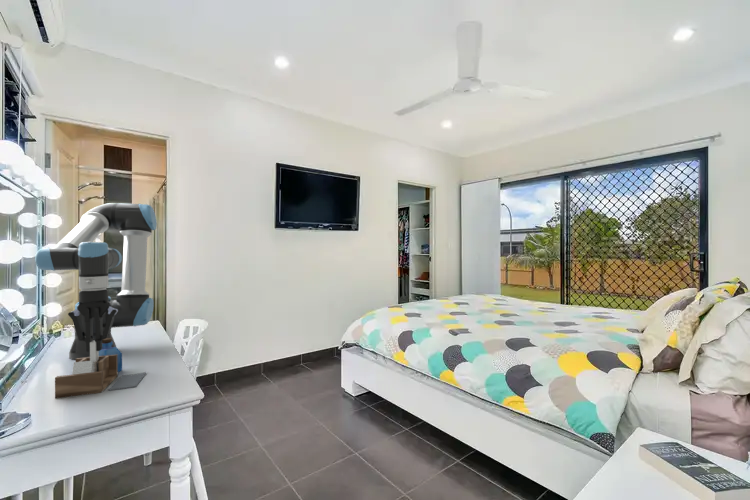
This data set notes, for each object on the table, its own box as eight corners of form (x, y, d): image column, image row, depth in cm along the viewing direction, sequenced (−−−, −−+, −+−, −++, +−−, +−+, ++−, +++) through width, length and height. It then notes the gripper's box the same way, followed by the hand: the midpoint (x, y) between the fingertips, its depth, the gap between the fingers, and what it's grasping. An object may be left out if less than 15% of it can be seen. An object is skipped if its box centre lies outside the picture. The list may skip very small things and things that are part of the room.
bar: (85, 375, 111) (86, 364, 112) (102, 373, 112) (104, 362, 114) (72, 374, 102) (73, 362, 103) (91, 372, 104) (92, 360, 105)
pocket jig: (77, 380, 112) (77, 358, 112) (117, 376, 116) (117, 354, 116) (55, 398, 99) (54, 372, 99) (101, 392, 103) (101, 367, 103)
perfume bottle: (105, 377, 116) (104, 341, 116) (90, 375, 117) (90, 340, 117) (122, 370, 122) (121, 337, 122) (107, 369, 123) (107, 336, 123)
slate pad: (122, 376, 116) (122, 375, 116) (146, 373, 119) (146, 372, 119) (108, 390, 104) (108, 389, 104) (135, 387, 107) (135, 386, 107)
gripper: (63, 291, 106) (63, 367, 106) (114, 289, 111) (114, 362, 111) (74, 288, 113) (74, 359, 113) (121, 287, 118) (122, 355, 118)
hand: (94, 360), depth 112 cm, fingers closed
